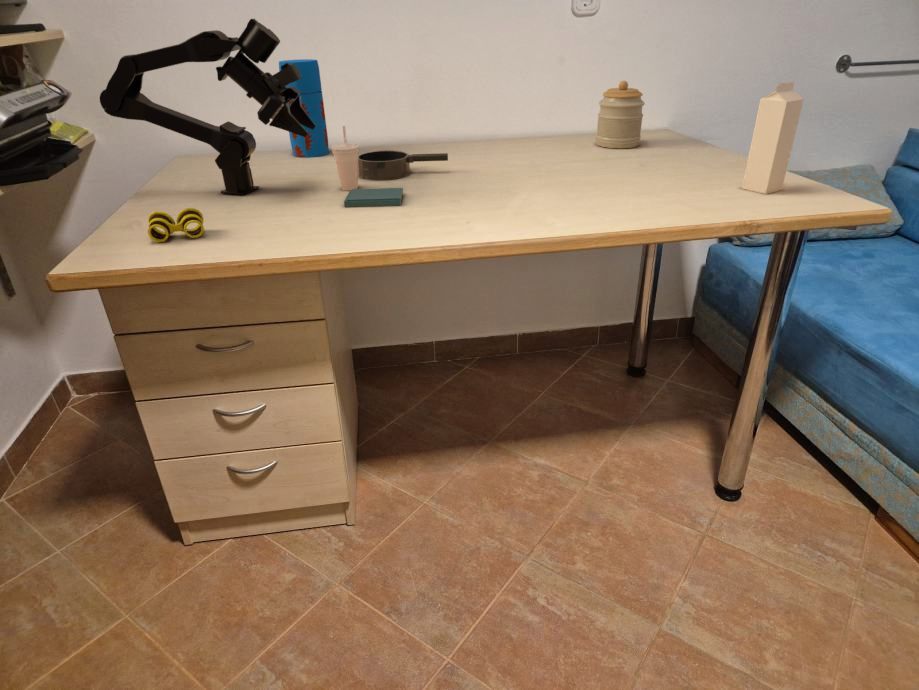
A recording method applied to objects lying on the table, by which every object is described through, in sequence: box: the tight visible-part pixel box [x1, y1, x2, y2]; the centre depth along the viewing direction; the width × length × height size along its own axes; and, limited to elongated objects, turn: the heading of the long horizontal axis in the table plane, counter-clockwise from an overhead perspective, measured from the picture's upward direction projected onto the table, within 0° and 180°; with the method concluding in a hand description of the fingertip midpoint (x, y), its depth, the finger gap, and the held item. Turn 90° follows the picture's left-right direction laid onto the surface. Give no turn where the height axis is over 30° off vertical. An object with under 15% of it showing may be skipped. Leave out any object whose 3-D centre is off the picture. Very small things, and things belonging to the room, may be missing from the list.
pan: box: [358, 150, 411, 181], centre depth 153 cm, size 13×13×4 cm
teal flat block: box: [343, 187, 404, 208], centre depth 133 cm, size 12×9×2 cm
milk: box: [741, 81, 804, 195], centre depth 129 cm, size 6×6×22 cm
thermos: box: [278, 58, 330, 158], centre depth 172 cm, size 11×11×25 cm
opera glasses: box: [147, 207, 205, 243], centre depth 113 cm, size 10×5×5 cm, turn 110°
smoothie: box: [331, 125, 360, 191], centre depth 139 cm, size 6×6×14 cm
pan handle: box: [409, 152, 449, 164], centre depth 153 cm, size 10×2×2 cm, turn 91°
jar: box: [595, 80, 646, 149], centre depth 176 cm, size 13×13×18 cm
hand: (310, 131), depth 136 cm, fingers open, 9 cm apart
